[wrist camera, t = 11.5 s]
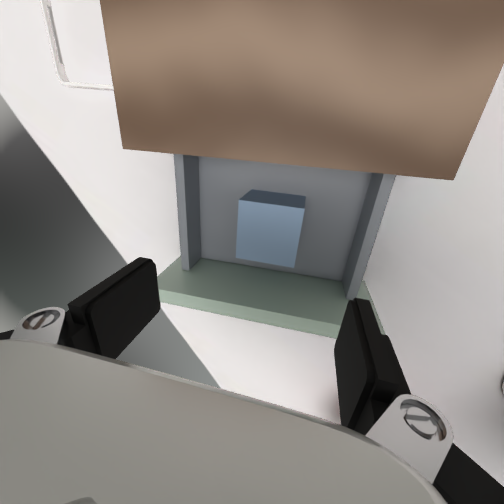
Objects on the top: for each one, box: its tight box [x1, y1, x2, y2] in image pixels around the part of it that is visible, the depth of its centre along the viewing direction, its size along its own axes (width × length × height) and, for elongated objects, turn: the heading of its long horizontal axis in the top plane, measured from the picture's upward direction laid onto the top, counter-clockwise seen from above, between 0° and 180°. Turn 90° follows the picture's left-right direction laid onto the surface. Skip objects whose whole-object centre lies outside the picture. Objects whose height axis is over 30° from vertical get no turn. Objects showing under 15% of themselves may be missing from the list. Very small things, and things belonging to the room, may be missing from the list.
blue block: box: [236, 189, 306, 268], centre depth 21 cm, size 5×5×4 cm
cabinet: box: [100, 0, 504, 180], centre depth 15 cm, size 16×20×9 cm
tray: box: [157, 154, 396, 339], centre depth 20 cm, size 16×20×8 cm
